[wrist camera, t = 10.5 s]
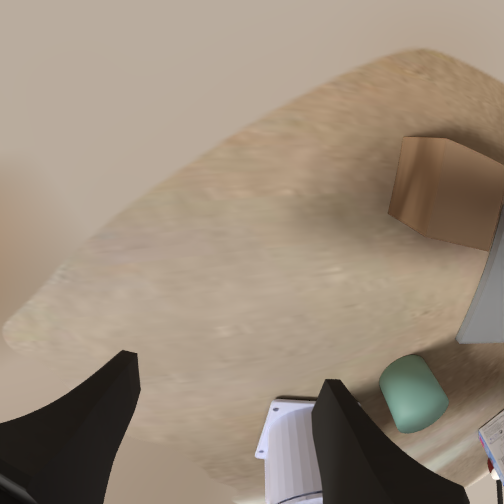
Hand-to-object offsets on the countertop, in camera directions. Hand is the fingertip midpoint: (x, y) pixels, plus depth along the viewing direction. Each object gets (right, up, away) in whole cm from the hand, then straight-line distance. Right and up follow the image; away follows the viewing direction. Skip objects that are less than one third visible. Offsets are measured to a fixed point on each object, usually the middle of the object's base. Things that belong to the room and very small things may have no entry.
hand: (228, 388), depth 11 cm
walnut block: (+12, +10, +6) cm, 17 cm away
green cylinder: (+14, -5, +12) cm, 19 cm away
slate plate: (+24, +2, +9) cm, 26 cm away
